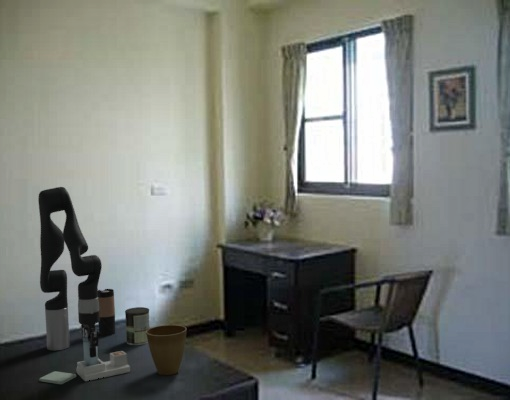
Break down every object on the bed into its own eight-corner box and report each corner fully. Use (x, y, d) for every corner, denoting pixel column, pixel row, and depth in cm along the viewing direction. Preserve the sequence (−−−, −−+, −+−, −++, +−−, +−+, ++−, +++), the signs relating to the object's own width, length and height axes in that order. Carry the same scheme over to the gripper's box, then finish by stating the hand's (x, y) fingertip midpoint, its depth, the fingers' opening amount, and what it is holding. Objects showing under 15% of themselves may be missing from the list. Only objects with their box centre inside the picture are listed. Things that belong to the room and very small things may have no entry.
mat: (39, 381, 224) (39, 378, 224) (54, 373, 232) (54, 371, 231) (61, 384, 220) (61, 381, 220) (76, 376, 228) (76, 374, 227)
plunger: (113, 362, 235) (113, 353, 235) (121, 360, 237) (120, 351, 236) (116, 364, 233) (115, 355, 232) (123, 363, 234) (123, 353, 234)
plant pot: (194, 367, 235) (193, 325, 234) (177, 380, 221) (175, 336, 220) (159, 363, 240) (157, 323, 239) (140, 376, 226) (138, 333, 225)
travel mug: (111, 336, 279) (109, 292, 278) (95, 335, 281) (93, 292, 279) (118, 331, 287) (116, 288, 285) (103, 331, 288) (101, 288, 287)
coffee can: (122, 345, 265) (121, 312, 264) (131, 338, 275) (129, 307, 274) (146, 345, 264) (144, 313, 263) (153, 338, 274) (152, 307, 273)
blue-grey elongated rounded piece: (82, 363, 230) (80, 336, 229) (95, 360, 233) (94, 334, 232) (86, 367, 226) (85, 340, 225) (100, 364, 228) (99, 337, 228)
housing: (76, 372, 232) (75, 357, 231) (120, 363, 241) (119, 348, 240) (85, 381, 223) (84, 365, 222) (130, 371, 231) (129, 356, 231)
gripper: (73, 307, 232) (75, 351, 233) (84, 315, 220) (86, 362, 221) (92, 304, 236) (94, 348, 237) (105, 312, 224) (107, 358, 225)
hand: (90, 354), depth 229 cm, fingers closed on blue-grey elongated rounded piece, 5 cm apart
